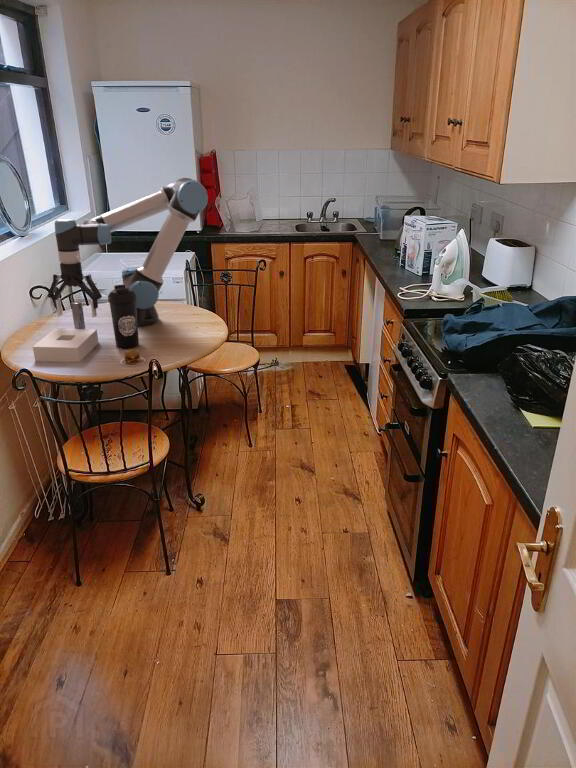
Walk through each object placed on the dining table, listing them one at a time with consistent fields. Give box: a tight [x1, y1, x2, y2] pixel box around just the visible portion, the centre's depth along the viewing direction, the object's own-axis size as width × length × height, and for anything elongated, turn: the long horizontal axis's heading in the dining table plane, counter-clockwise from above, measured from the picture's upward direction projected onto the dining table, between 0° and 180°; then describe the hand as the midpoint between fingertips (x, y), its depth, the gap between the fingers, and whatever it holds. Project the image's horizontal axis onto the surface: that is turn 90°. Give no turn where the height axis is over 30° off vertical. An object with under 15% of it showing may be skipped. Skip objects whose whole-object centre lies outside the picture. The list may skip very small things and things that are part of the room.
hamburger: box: [119, 348, 146, 367], centre depth 199 cm, size 12×12×6 cm
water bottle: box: [107, 284, 140, 350], centre depth 210 cm, size 10×10×23 cm
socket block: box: [32, 328, 99, 363], centre depth 207 cm, size 16×20×6 cm
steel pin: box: [70, 301, 87, 329], centre depth 220 cm, size 4×4×14 cm
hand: (77, 315), depth 219 cm, fingers open, 13 cm apart
